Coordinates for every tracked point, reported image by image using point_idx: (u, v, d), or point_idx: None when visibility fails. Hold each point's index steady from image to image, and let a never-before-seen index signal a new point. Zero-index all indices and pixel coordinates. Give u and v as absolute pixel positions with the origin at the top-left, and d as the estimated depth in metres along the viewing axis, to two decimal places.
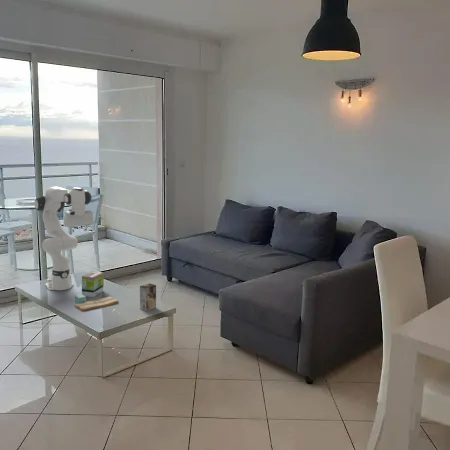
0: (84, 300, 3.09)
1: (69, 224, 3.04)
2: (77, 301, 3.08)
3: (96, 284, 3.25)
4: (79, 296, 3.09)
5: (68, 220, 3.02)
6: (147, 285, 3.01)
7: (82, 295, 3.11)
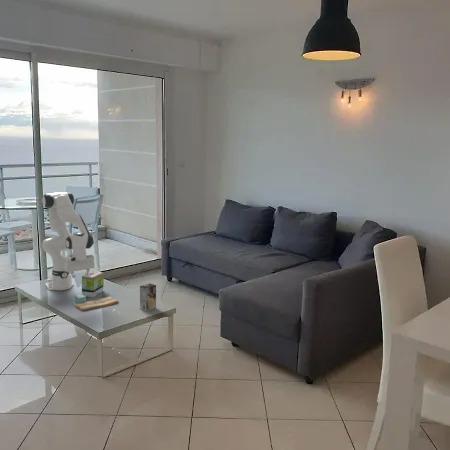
0: (84, 300, 3.09)
1: (70, 270, 3.00)
2: (77, 301, 3.08)
3: (96, 284, 3.25)
4: (79, 296, 3.09)
5: (69, 266, 2.99)
6: (147, 285, 3.01)
7: (82, 295, 3.11)
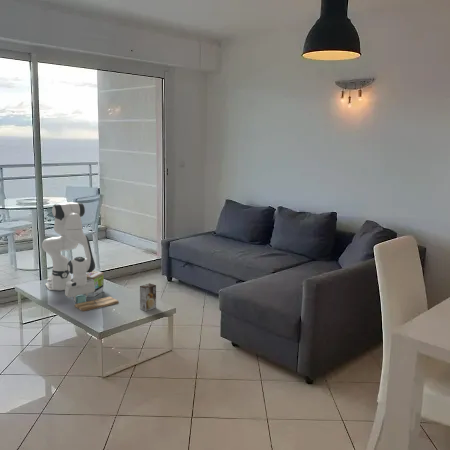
0: (84, 300, 3.09)
1: (70, 295, 3.03)
2: (77, 301, 3.08)
3: (96, 284, 3.25)
4: (79, 296, 3.09)
5: (69, 291, 3.02)
6: (147, 285, 3.01)
7: (82, 295, 3.11)
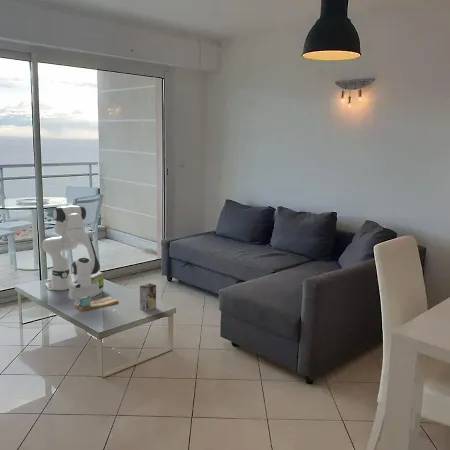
0: (88, 302, 3.00)
1: (74, 297, 2.94)
2: None
3: None
4: (83, 298, 3.00)
5: (73, 293, 2.93)
6: (147, 285, 3.01)
7: (86, 297, 3.02)
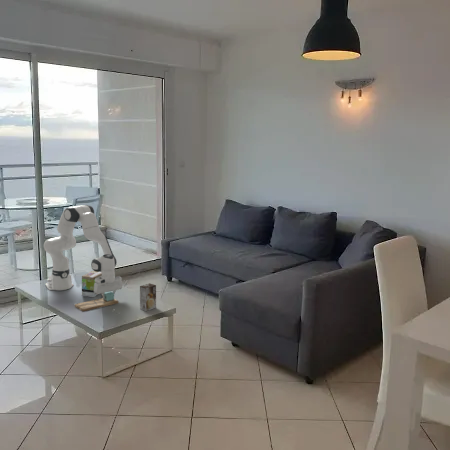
0: (112, 297, 3.12)
1: (99, 292, 3.06)
2: (106, 298, 3.11)
3: None
4: (107, 293, 3.12)
5: (98, 288, 3.05)
6: (147, 285, 3.01)
7: (110, 292, 3.14)
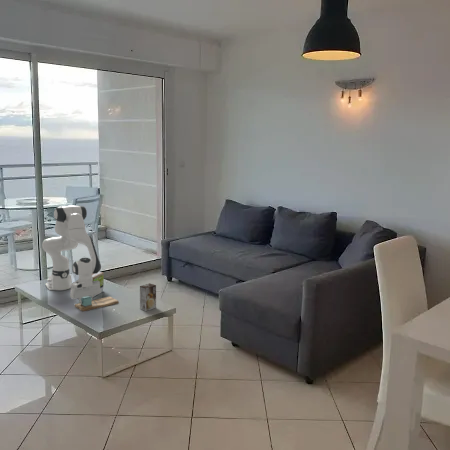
0: (90, 302, 3.01)
1: (76, 297, 2.95)
2: (83, 303, 3.00)
3: None
4: (85, 298, 3.01)
5: (75, 293, 2.94)
6: (147, 285, 3.01)
7: (88, 297, 3.03)
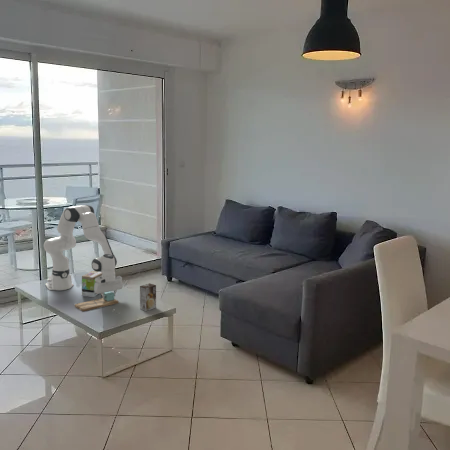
0: (113, 297, 3.13)
1: (100, 291, 3.06)
2: (106, 298, 3.11)
3: None
4: (108, 293, 3.12)
5: (99, 288, 3.05)
6: (147, 285, 3.01)
7: (110, 292, 3.15)
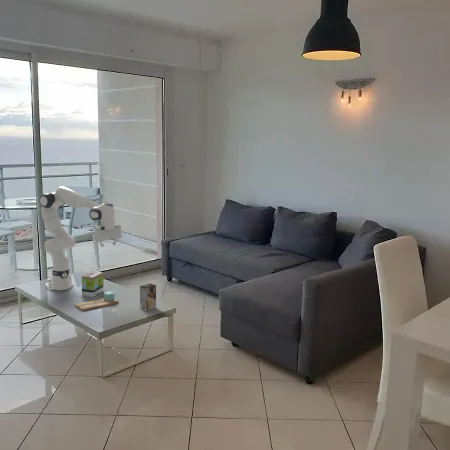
0: (113, 297, 3.13)
1: (99, 239, 3.12)
2: (106, 298, 3.11)
3: (96, 284, 3.25)
4: (108, 293, 3.12)
5: (98, 235, 3.11)
6: (147, 285, 3.01)
7: (110, 292, 3.15)
